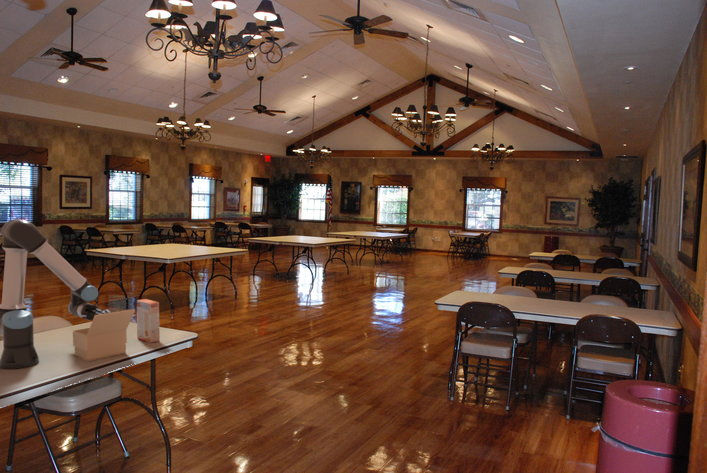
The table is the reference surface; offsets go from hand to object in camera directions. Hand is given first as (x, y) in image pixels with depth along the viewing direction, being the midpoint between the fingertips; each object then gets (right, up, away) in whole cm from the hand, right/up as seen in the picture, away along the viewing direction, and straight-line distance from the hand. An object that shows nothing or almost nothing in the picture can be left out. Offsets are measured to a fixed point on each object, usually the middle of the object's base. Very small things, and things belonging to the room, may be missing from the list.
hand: (111, 318), depth 254 cm
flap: (0, -1, -1) cm, 2 cm away
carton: (-9, -18, +8) cm, 22 cm away
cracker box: (+4, -17, +35) cm, 39 cm away
